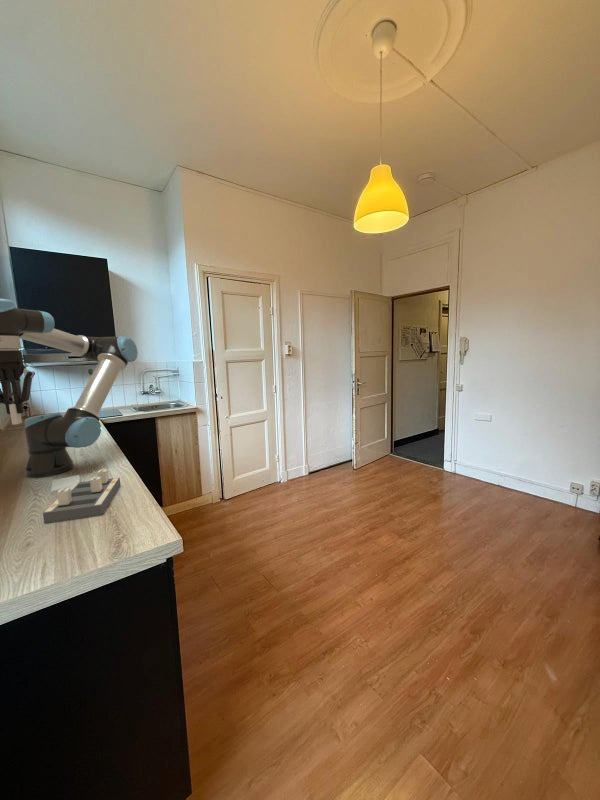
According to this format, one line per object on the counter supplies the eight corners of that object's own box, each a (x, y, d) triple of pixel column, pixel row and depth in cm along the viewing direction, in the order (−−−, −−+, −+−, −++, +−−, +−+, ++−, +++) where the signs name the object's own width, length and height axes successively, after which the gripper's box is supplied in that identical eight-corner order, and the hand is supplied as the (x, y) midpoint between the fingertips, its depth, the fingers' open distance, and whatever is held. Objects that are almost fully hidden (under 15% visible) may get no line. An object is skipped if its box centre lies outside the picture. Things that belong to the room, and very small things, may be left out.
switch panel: (74, 491, 107) (73, 482, 107) (120, 485, 112) (119, 477, 111) (44, 523, 87) (42, 512, 86) (102, 514, 91) (101, 504, 90)
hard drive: (52, 479, 116) (50, 491, 105) (79, 474, 120) (80, 484, 110) (53, 484, 116) (51, 495, 106) (80, 478, 120) (80, 489, 110)
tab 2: (93, 489, 100) (92, 476, 100) (102, 488, 101) (100, 475, 100) (91, 492, 98) (89, 479, 97) (100, 491, 99) (98, 478, 98)
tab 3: (100, 481, 107) (99, 468, 106) (108, 480, 108) (107, 468, 107) (98, 484, 105) (96, 471, 104) (106, 483, 105) (105, 470, 105)
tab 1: (62, 502, 92) (60, 487, 91) (71, 500, 93) (70, 486, 92) (58, 505, 90) (56, 490, 89) (68, 504, 90) (66, 489, 90)
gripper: (-29, 350, 93) (-16, 428, 97) (25, 349, 98) (36, 424, 101) (-14, 350, 100) (-2, 423, 104) (36, 349, 105) (46, 419, 108)
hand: (17, 423), depth 103 cm, fingers closed
